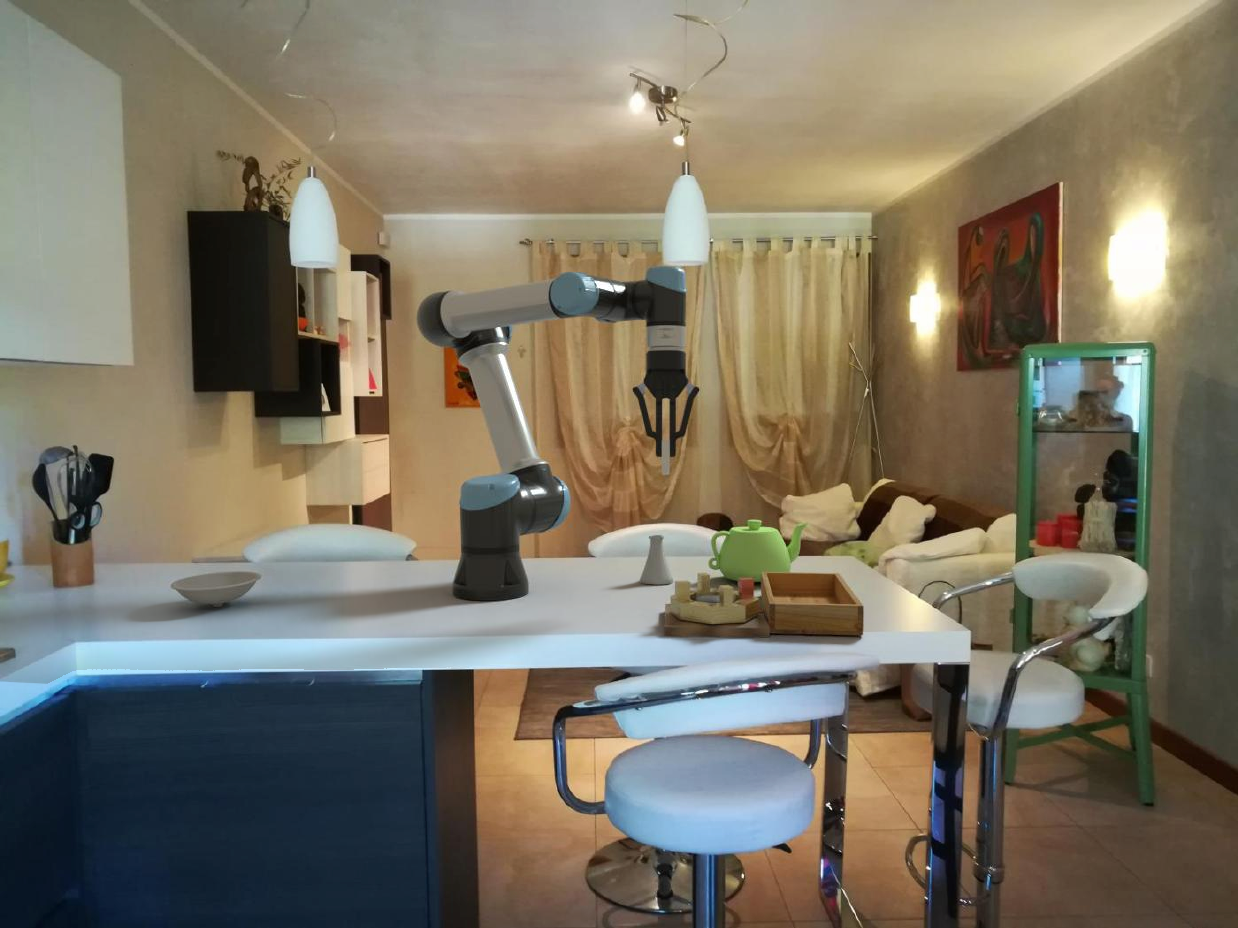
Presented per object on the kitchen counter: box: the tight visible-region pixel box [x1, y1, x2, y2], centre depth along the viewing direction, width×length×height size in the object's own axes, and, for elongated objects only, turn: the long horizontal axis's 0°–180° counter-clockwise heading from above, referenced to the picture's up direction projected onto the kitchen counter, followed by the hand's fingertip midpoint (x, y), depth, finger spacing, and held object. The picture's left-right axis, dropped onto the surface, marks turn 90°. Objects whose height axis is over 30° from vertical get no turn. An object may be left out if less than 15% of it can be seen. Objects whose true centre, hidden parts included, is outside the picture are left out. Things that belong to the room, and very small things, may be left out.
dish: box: [170, 570, 262, 608], centre depth 167 cm, size 18×14×5 cm
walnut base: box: [664, 595, 771, 638], centre depth 153 cm, size 17×17×4 cm
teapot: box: [708, 519, 811, 585], centre depth 190 cm, size 22×15×13 cm
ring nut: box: [670, 572, 760, 624], centre depth 152 cm, size 14×14×6 cm
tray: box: [760, 571, 865, 636], centre depth 159 cm, size 31×15×6 cm, turn 173°
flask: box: [639, 534, 674, 586], centre depth 189 cm, size 7×7×10 cm
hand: (665, 474), depth 170 cm, fingers closed
